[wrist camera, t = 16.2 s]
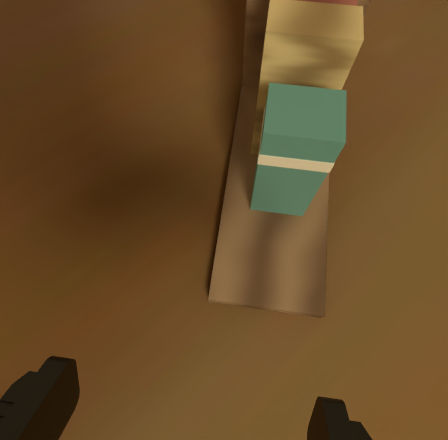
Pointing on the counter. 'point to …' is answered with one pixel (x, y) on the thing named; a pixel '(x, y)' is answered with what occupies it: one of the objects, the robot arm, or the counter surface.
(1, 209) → the counter surface
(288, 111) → the teal book
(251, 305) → the book rack
